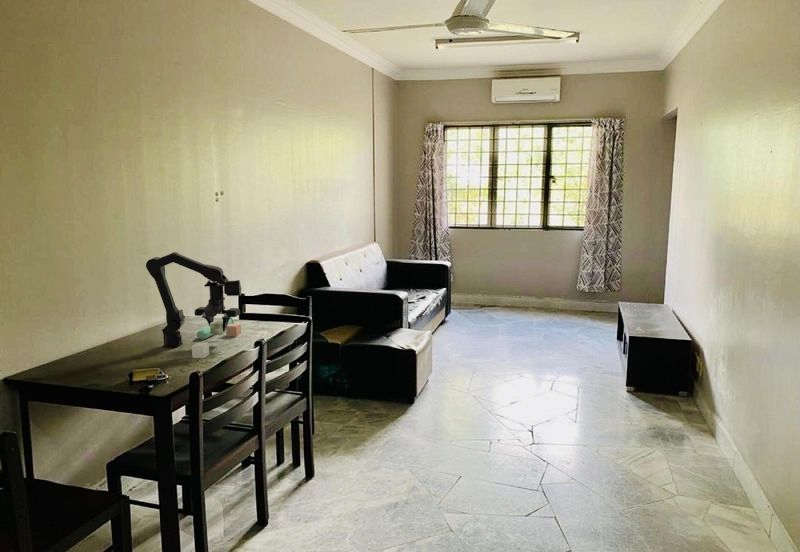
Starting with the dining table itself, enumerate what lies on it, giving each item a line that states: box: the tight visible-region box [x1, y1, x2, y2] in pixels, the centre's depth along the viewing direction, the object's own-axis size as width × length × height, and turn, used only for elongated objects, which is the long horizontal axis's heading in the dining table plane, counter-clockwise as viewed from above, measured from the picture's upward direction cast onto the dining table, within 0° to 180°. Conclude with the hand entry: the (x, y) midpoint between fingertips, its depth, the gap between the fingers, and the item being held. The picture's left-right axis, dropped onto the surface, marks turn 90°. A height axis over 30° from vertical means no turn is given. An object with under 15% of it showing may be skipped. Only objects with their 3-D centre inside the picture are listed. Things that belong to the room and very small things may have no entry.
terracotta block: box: [225, 323, 242, 337], centre depth 276 cm, size 5×5×5 cm
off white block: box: [191, 342, 210, 359], centre depth 244 cm, size 5×5×5 cm
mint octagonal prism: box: [196, 317, 235, 341], centre depth 279 cm, size 6×6×25 cm
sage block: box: [210, 320, 226, 336], centre depth 260 cm, size 5×5×5 cm
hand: (218, 331), depth 260 cm, fingers closed on sage block, 5 cm apart
